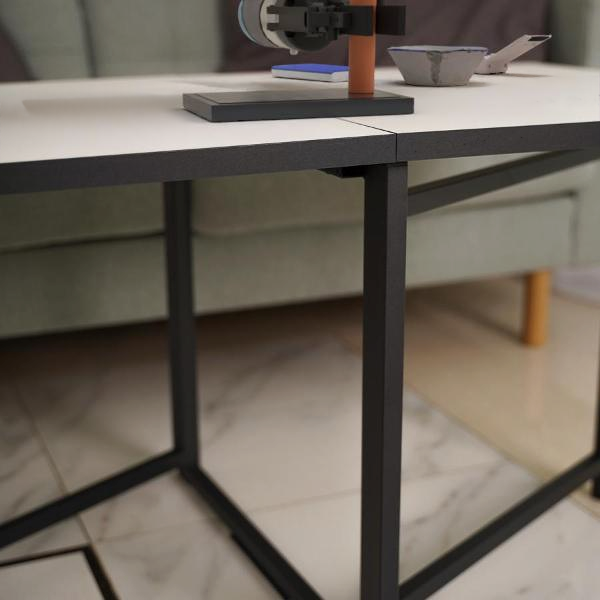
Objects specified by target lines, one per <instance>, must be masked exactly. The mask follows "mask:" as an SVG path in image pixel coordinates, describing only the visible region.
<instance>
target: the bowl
mask: <svg viewBox="0 0 600 600" xmlns="http://www.w3.org/2000/svg"><path fill="white" fill-rule="evenodd" d="M489 50H490V48H488V47H486V46H478V45H475V46H466V45H465V46H464V45H455V46H453V45H452V46H451V45H450V46H449V45H446V46H445V45H426V44H425V45H424V44H423V45H404V46H390V47H388V48H386V51H387V52H388V54H389V56H390V57H391V58H392V60H393V62H394V64H395V65H396V67H397V69H398V72H399V73H400V75H401V76H402V78H403V80H404V82H405V83H406V84H407V85H413V86H423V87H425V86H427V87H454V86H455V87H456V86H465V85H467V84H468V83H469V81H471V78H472V77H473V76H474V74H476V73H475V71H476V69H477V68H478V66H479V65H480V63H481V61H482V60H483V58H484V56H485V55H486V54H487V53H488V52H489Z"/></svg>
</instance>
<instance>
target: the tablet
mask: <svg viewBox="0 0 600 600" xmlns="http://www.w3.org/2000/svg"><path fill="white" fill-rule="evenodd" d="M183 107H184V108H186V109H188V110H190V111H192V112H194V113H196V114H198V115H197V116H199V115H200V116H199V117H201V116H202V117H201V118H203V117H204V118H203V119H205V118H206V119H205V120H207V121H209V122H211V123H219V122H218V121H229V122H239V121H238V120H252V121H263V120H262V119H276V120H290V119H289V118H299V119H306V118H305V117H322V118H341V117H345V118H346V117H365V116H387V115H388V116H390V115H412V114H414V113H415V97H411V96H407V95H402V94H397V93H394V92H393V93H392V92H388V91H384V90H383V91H382V90H379V89H374V93H368V94H356V93H349V92H348V87H337V88H307V89H306V88H305V89H277V90H276V89H275V90H247V91H246V90H245V91H244V90H243V91H213V92H212V91H211V92H184V93H182V108H183ZM184 108H183V109H184ZM186 109H185V110H186ZM188 110H187V111H188ZM190 111H189V112H190ZM192 112H191V113H192ZM194 113H193V114H194ZM196 114H195V115H196Z"/></svg>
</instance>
